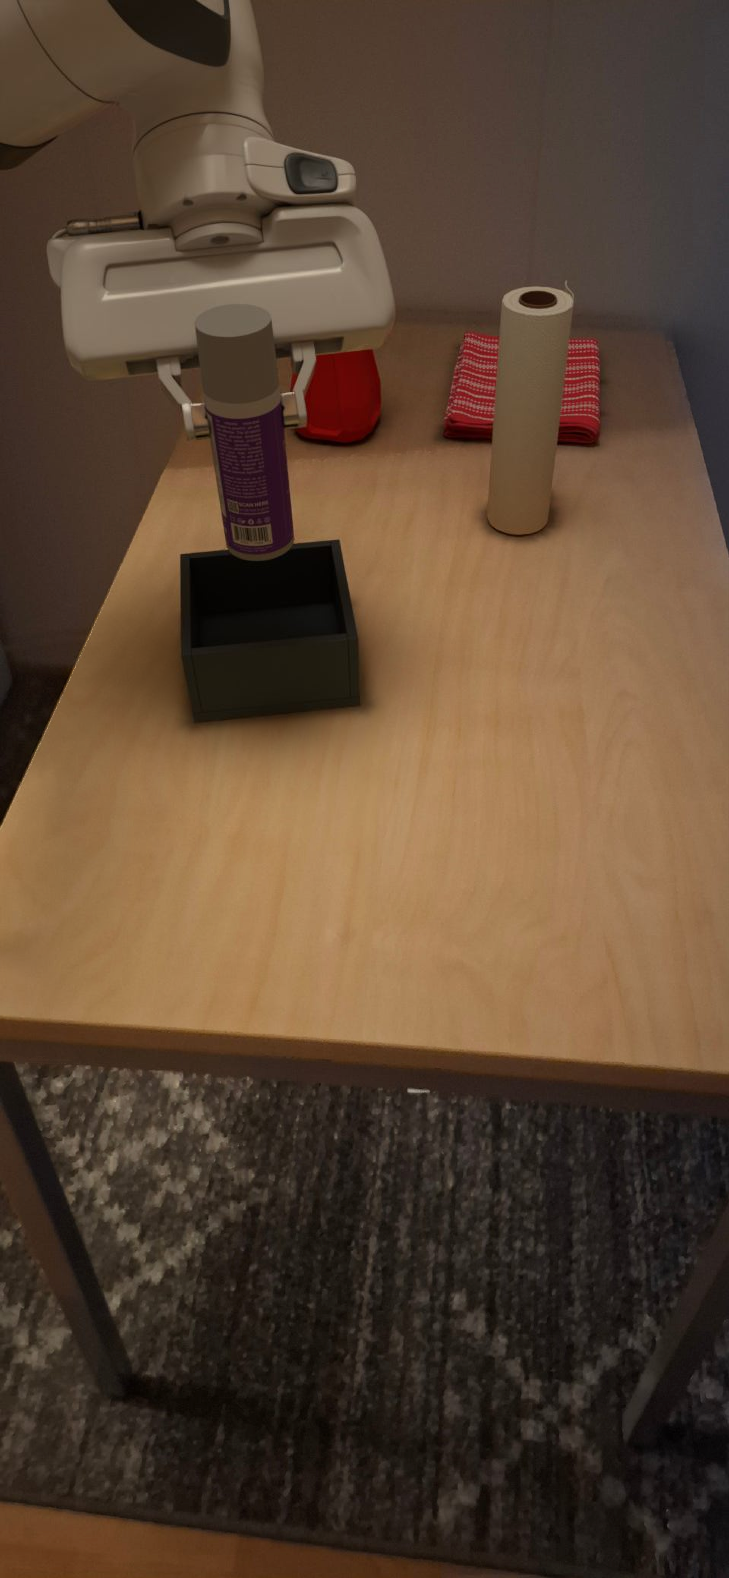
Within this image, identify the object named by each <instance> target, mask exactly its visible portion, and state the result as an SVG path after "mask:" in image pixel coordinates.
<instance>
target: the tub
mask: <svg viewBox="0 0 729 1578" xmlns="http://www.w3.org/2000/svg"><path fill="white" fill-rule="evenodd" d="M179 559H180V560H179V567H180V568H179V582H180V585H179V586H180V588H179V589H180V595H179V597H180V598H179V599H180V603H179V604H180V605H179V606H180V609H179V610H180V611H179V612H180V660H181V665H182V670H183V674H184V681H185V683H186V684H185V685H186V690H187V694H188V695H187V696H188V700H189V704H190V711H191V715H192V720H193V722H194V723H201V722H210V721H211V722H212V721H221V720H222V721H223V720H232V719H242V718H251V717H260V716H271V715H280V714H291V713H299V712H309V711H310V712H311V711H318V710H319V711H320V710H327V709H328V710H329V709H339V708H349V707H358V706H359V707H360V706H361V705H362V703H361V702H362V701H361V676H360V673H361V671H360V649H359V635H358V630H357V624H356V620H355V619H356V618H355V613H354V608H353V604H352V599H351V593H350V588H349V582H348V578H347V577H348V576H347V573H346V572H347V571H346V567H345V561H344V556H343V551H342V547H341V541H340V539H330V540H328V539H327V540H317V541H316V540H315V541H307V542H294V543H293V545H292V547H291V548H290V549H289V550H288V551H287V552H286V553H284V554H282V555H281V556H278V557H276V558H273V559H269V560H262V561H250V560H244V559H241V558H238V557H236V556H234V555H233V554H232V553H230V551H229V550H228V549H219V550H209V551H208V550H207V551H198V552H197V551H195V552H190V553H189V552H185V553H180V554H179Z"/></svg>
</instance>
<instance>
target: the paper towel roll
mask: <svg viewBox="0 0 729 1578" xmlns="http://www.w3.org/2000/svg"><path fill="white" fill-rule="evenodd" d="M567 284H568V279H566V280H565V282H564V288H563V289H564V290H562V289H557V288H553V287H551V286H550V287H549V286H537V285H536V286H524V287H519V288H515V289H513V290H510V291H509V292H507V293H505V294H504V295H503V298H502V300H501V306H500V320H499V321H500V322H499V323H500V324H499V350H498V364H497V378H496V393H495V407H494V422H493V436H492V439H491V451H490V467H489V480H488V481H489V482H488V493H487V494H488V495H487V508H486V509H487V510H486V517H487V520H488V522H489V525H491V526H492V527H493V528H495V530H497V531H500V532H502V533H504V534H509V535H517V536H521V535H531V534H533V533H536V532H539V531H541V530H542V529H543V528H544V527H545V526H546V525H547V524H548V521H549V515H550V507H551V499H552V489H553V481H554V474H555V473H554V472H555V463H556V454H557V446H558V441H557V439H558V431H559V422H560V414H561V405H562V397H563V389H564V380H565V372H566V363H567V355H568V346H569V339H571V329H572V321H573V312H574V304H575V294H574V293H573V292H572V291H571V289H570V288H569V287H568V285H567Z"/></svg>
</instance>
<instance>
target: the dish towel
mask: <svg viewBox="0 0 729 1578" xmlns="http://www.w3.org/2000/svg"><path fill="white" fill-rule="evenodd" d="M498 350H499V336H498V335H497V336H496V335H489V334H488V335H487V334H482V333H477V332H473V331H464V333H463V340H462V341H461V345H460V347H459V352H458V357H457V361H456V365H455V367H454V372H453V376H452V383H451V386H450V392H449V398H448V403H447V406H446V410H445V416H444V418H443V420H444V423H443V426H442V430H443V431H444V437H446V438H463V439H464V438H466V439H487V440H488V439H491V440H492V436H493V422H494V407H495V393H496V378H497V364H498ZM600 363H601V360H600V347H599V341H598V340H597V339H595V338H569V346H568V355H567V363H566V372H565V380H564V389H563V397H562V405H561V414H560V422H559V431H558V439H557V442H559V443H560V442H561V443H581V444H582V443H583V444H592V443H594V442H596V441H597V440H598V439H599V437H600V426H601V418H600V417H601V401H600V394H601V386H600V384H601V365H600Z"/></svg>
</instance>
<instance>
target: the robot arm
mask: <svg viewBox="0 0 729 1578" xmlns="http://www.w3.org/2000/svg"><path fill="white" fill-rule="evenodd" d="M252 5H253V4H252V2H251V0H0V171H9V170H13V169H15V168H17V167H19V166H21V165H22V164H23V163H25V162H26V161H28V160H30V159H31V158H32V157H33V156H34V155H36V154H37V153H38V152H40V151H41V150H43V149H44V148H45V147H47V146H48V145H50V144H51V143H52V142H54V141H55V140H56V139H57V138H58V137H59V136H60V135H61V134H63V133H64V132H67V131H69V130H70V129H73V127H75V126H77V125H79V124H80V123H82V122H84V121H86V120H88V119H89V118H91V117H93V116H94V115H97V114H98V113H100V112H102V111H104V110H106V109H107V108H109V107H110V106H112V105H114V104H116V106H117V107H119V108H121V109H122V110H123V111H125V112H127V113H128V114H129V115H130V118H131V121H132V129H133V131H132V140H131V162H132V169H133V174H134V175H133V176H134V181H135V188H136V194H137V200H138V204H139V210H138V211H132V212H121V213H114V214H109V215H104V216H100V217H96V218H95V217H90V218H88V217H86V216H82V217H74V218H70V219H68V220H66V222H65V224H66V226H63V227H61V228H58V229H57V230H55V232H53V233H52V234H51V236H50V237H49V239H48V241H47V244H46V247H45V257H46V263H47V269H48V274H49V279H50V282H51V284H52V285H53V287H54V288H55V290H56V291H57V292H59V294H60V313H61V327H62V337H63V343H64V349H65V352H66V356H67V359H68V361H69V363H70V366H71V367H72V369H74V371H75V372H77V374H79V375H80V376H81V377H82V378H83V379H84V380H86V381H89V382H96V381H105V380H113V379H122V378H131V377H139V376H147V375H148V376H149V375H158V380H159V385H160V389H161V391H162V393H163V394H164V395H165V396H166V397H167V398H168V400H169V401H170V402H171V403H172V405H173V406H174V407H175V409H176V410H177V411H178V412H179V414H180V415H182V417H183V423H184V428H185V434H186V439H187V442H192V441H201V440H206V439H209V440H210V429H209V422H208V420H207V412H206V408H205V402H196V403H193V402H192V401H191V399H190V398H189V397H188V396H187V394H186V393H185V391H184V390H183V389H182V388H183V387H184V381H183V374H182V371H192V370H193V371H194V370H200V362H199V354H198V346H197V338H196V330H195V320H196V318H197V317H198V316H199V315H200V314H201V313H203V312H205V311H207V310H209V309H211V308H214V307H218V306H222V305H229V304H248V305H254V306H258V307H261V308H263V309H265V310H267V311H268V312H269V313H270V315H271V320H272V328H273V336H274V344H275V353H276V361H281V360H287V359H289V360H290V366H291V372H292V373H294V374H299V376H298V378H297V381H296V384H295V386H294V389H293V392H290V391H289V392H282V393H281V392H280V394H281V403H282V412H283V413H282V415H283V424H284V430H287V429H295V428H301V427H306V425H307V413H306V406H305V400H304V397H305V395H306V392H307V390H308V387H309V384H310V382H311V379H312V377H313V374H314V371H315V365H316V355H324V354H333V353H341V352H350V351H359V350H368V349H373V350H375V349H379V348H381V347H382V346H383V345H384V344H385V342H386V341H387V339H388V338H389V336H390V334H391V332H392V330H393V327H394V324H395V321H396V304H395V297H394V291H393V286H392V281H391V277H390V273H389V268H388V265H387V261H386V257H385V253H384V250H383V247H382V243H381V241H380V238H379V234H378V232H377V230H376V228H375V226H374V224H373V222H372V220H371V219H370V218H369V216H368V215H367V214H366V213H365V212H364V211H362V210H361V209H359V208H358V207H357V205H358V204H357V203H358V202H357V201H358V190H357V189H358V188H357V187H358V186H357V185H358V184H357V177H356V170H355V168H354V166H353V165H352V164H351V163H350V162H349V161H347V160H345V159H342V158H338V157H334V156H330V155H325V154H321V153H316V152H312V151H308V150H304V149H300V148H296V147H292V146H289V145H286V144H282V143H279V142H276V140H275V136H274V133H273V130H272V127H271V125H270V123H269V121H268V119H267V117H266V113H265V110H264V93H265V84H266V83H265V82H266V81H265V69H264V61H263V55H262V50H261V44H260V38H259V33H258V32H259V31H258V27H257V24H256V23H257V22H256V18H255V14H254V10H253V6H252ZM66 235H68V236H66Z"/></svg>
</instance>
